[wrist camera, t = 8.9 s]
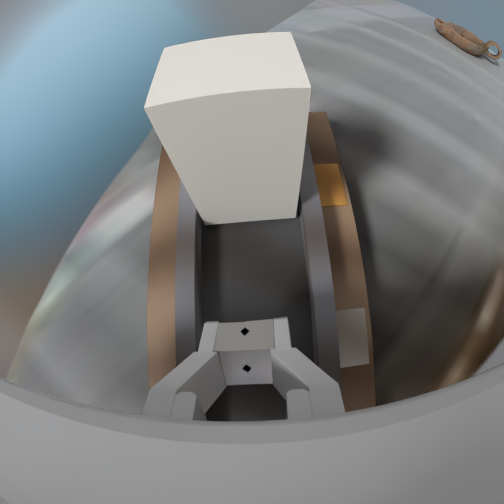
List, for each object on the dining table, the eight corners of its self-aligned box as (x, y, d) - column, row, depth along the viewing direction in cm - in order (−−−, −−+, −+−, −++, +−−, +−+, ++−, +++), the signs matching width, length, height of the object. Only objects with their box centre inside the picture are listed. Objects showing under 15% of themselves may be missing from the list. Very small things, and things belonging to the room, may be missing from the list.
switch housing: (364, 437, 13) (384, 455, 10) (168, 445, 14) (145, 464, 11) (322, 129, 20) (328, 97, 17) (173, 143, 21) (159, 113, 18)
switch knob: (295, 217, 15) (311, 87, 7) (205, 225, 16) (144, 108, 7) (287, 160, 17) (290, 32, 8) (207, 167, 17) (164, 47, 9)
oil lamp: (430, 35, 27) (437, 12, 23) (432, 25, 29) (438, 5, 24) (496, 76, 24) (507, 56, 20) (492, 61, 26) (501, 43, 21)
